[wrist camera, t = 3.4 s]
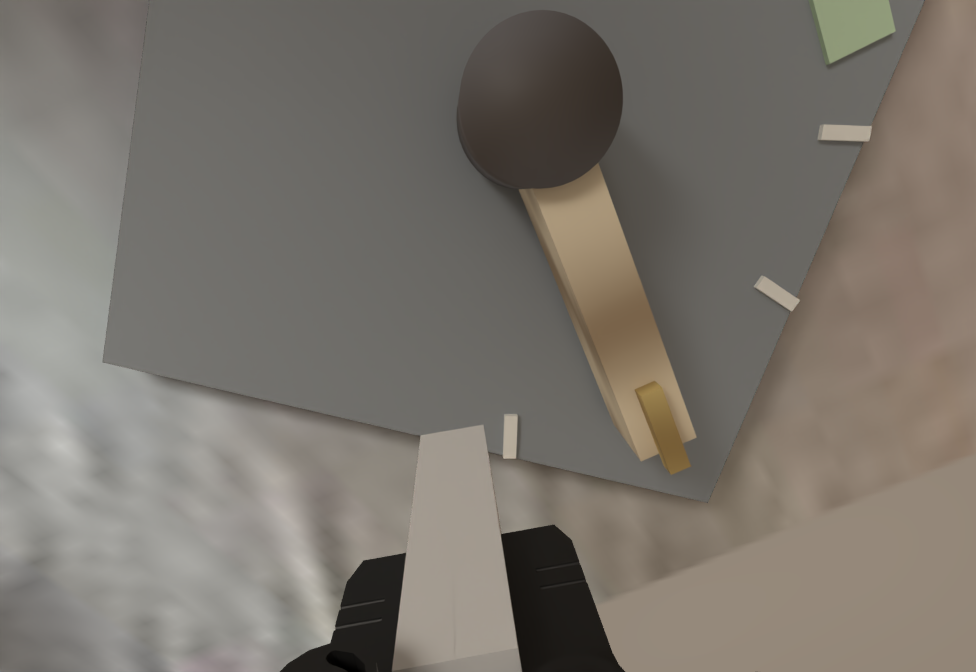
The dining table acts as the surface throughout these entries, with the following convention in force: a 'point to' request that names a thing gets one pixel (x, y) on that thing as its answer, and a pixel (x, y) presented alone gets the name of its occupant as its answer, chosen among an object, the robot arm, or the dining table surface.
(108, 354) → the dial board
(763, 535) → the dining table surface
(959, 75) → the dining table surface
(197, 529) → the dining table surface
